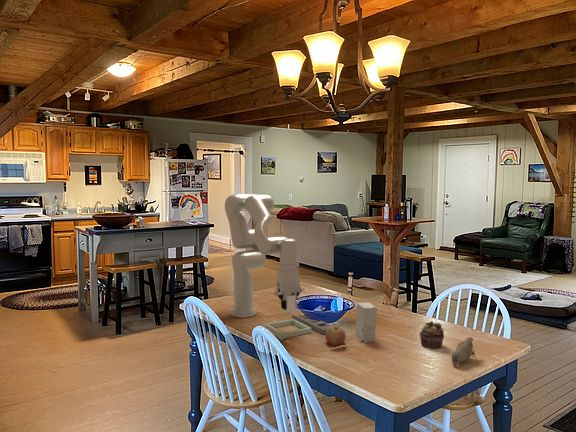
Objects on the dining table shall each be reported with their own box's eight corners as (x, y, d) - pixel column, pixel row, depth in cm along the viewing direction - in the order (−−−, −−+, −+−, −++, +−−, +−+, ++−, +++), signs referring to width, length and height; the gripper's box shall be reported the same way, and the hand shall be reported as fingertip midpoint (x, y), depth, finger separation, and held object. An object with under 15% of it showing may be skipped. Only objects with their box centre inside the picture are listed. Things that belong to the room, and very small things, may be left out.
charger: (281, 314, 210) (281, 294, 209) (289, 312, 212) (289, 293, 211) (287, 316, 206) (287, 296, 205) (295, 315, 208) (295, 295, 207)
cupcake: (445, 344, 197) (446, 321, 196) (440, 351, 188) (441, 327, 188) (422, 340, 202) (423, 317, 201) (416, 347, 193) (417, 323, 192)
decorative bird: (446, 365, 175) (447, 346, 174) (463, 353, 187) (464, 335, 186) (461, 369, 171) (462, 349, 171) (477, 357, 183) (478, 338, 183)
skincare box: (355, 336, 206) (356, 302, 205) (368, 335, 208) (368, 301, 206) (362, 342, 198) (363, 307, 197) (376, 341, 200) (377, 306, 198)
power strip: (286, 318, 232) (286, 310, 231) (298, 316, 235) (298, 308, 235) (322, 336, 205) (323, 328, 205) (336, 334, 209) (336, 326, 208)
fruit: (329, 349, 190) (329, 330, 189) (322, 342, 198) (323, 324, 197) (348, 347, 192) (348, 328, 191) (340, 341, 200) (341, 322, 199)
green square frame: (264, 330, 212) (264, 323, 212) (293, 325, 220) (293, 319, 220) (281, 340, 200) (281, 333, 199) (311, 334, 207) (311, 328, 207)
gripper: (300, 264, 215) (300, 303, 216) (267, 267, 206) (267, 309, 208) (309, 266, 208) (309, 307, 210) (276, 270, 200) (276, 313, 201)
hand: (288, 307), depth 209 cm, fingers closed on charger, 4 cm apart
